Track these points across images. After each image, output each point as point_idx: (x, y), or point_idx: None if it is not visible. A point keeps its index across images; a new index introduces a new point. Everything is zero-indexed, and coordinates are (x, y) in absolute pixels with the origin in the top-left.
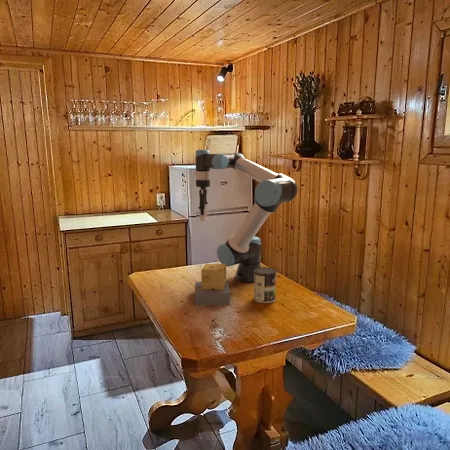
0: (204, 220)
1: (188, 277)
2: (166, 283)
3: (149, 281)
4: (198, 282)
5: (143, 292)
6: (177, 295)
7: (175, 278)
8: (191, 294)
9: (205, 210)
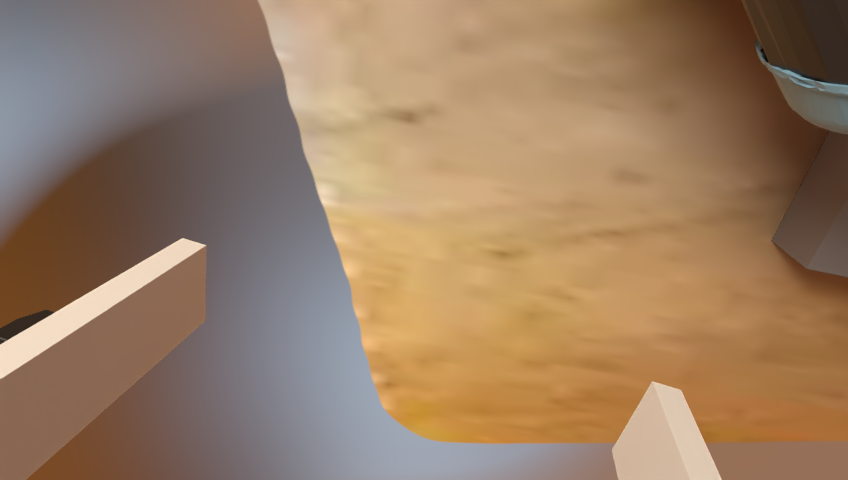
0: (678, 406)
1: (512, 230)
2: (570, 341)
3: (516, 397)
4: (832, 253)
5: None
6: (768, 327)
7: (509, 292)
8: (792, 265)
9: (115, 328)
